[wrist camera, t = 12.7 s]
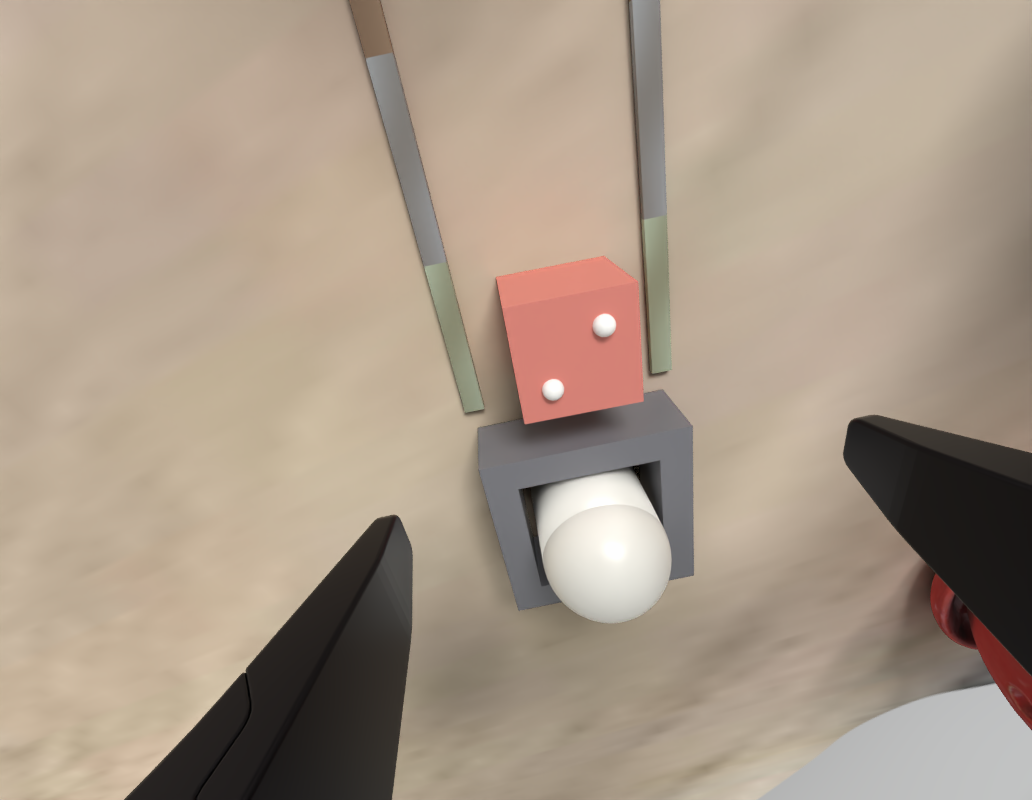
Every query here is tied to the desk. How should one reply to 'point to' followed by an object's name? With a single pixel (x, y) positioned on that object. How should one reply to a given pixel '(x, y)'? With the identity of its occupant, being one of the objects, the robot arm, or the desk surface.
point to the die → (573, 338)
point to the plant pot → (983, 647)
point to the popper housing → (579, 452)
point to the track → (422, 212)
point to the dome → (602, 545)
